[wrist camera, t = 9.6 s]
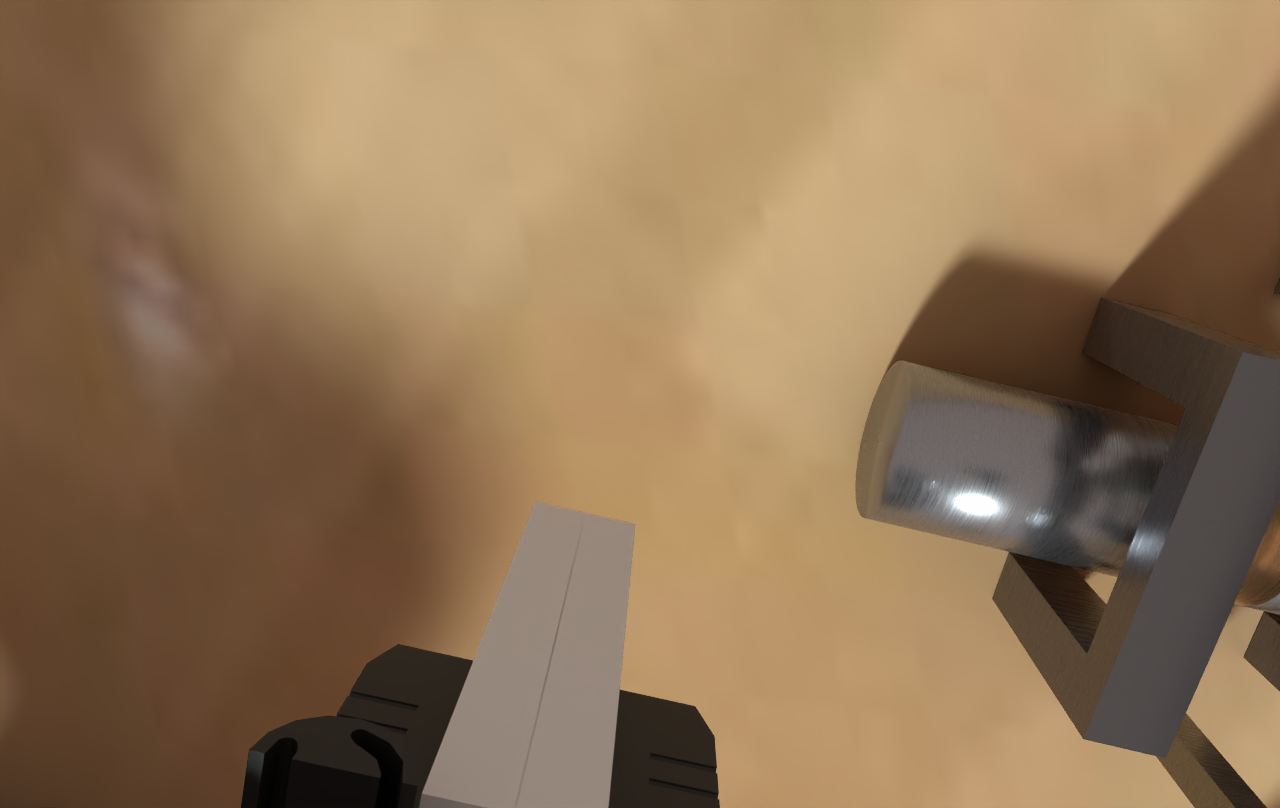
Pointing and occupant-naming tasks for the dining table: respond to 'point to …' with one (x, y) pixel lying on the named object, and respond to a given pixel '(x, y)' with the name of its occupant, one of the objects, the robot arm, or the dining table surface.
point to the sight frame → (1206, 767)
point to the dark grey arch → (1161, 537)
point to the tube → (1021, 472)
